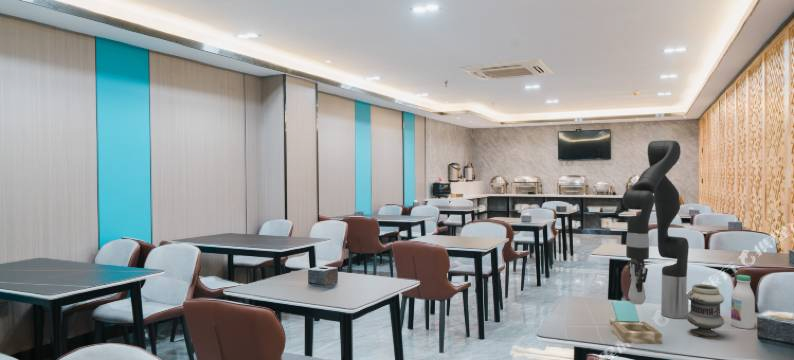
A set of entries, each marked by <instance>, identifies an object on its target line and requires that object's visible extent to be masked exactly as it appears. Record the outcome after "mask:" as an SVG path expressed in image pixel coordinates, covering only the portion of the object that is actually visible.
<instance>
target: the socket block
mask: <svg viewBox="0 0 794 360" xmlns="http://www.w3.org/2000/svg"><path fill="white" fill-rule="evenodd" d="M609 325H610V326H611V331H612V333H613V334H614V335H616V336H617V337H618V339H620V341H622V343H626V344H627V343H628V344H656V345H657V344H659V345H662V344H663V333H661V331H659V330H658V329H656V328H655V327H654V326H652V325H651V324H650V323H649V322H646V321H640V322H639V323H633V322H617V319H616V318H609Z"/></svg>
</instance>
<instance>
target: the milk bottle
mask: <svg viewBox="0 0 794 360" xmlns="http://www.w3.org/2000/svg"><path fill="white" fill-rule="evenodd" d="M751 279H752V278H751V276H750V275H745V274H738V275H736V286H735V287H734V289H733V291H732V293H731V301H730V303H731V304H730V305H731V306H730V324H731V326H733V327H735V328H739V329H747V330H749V329H750V330H751V329H754V328H755V321H756V319H755V317H756V313H755V312H756V300H755V299H756V298H755V294H754V291H753V289H752V288H751V284H750V283H751Z"/></svg>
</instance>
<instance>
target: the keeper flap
mask: <svg viewBox="0 0 794 360" xmlns="http://www.w3.org/2000/svg"><path fill="white" fill-rule="evenodd" d="M611 304H612V308H613V311H614V314H615V319H617V322H633V323H641V321H640V318H639V314H638V312H637V308H636V304H632V303H631V302H630V301H622V300H621V301H614V300H612V301H611Z"/></svg>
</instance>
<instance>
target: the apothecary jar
mask: <svg viewBox="0 0 794 360" xmlns="http://www.w3.org/2000/svg"><path fill="white" fill-rule="evenodd" d="M719 288H720V287H718V286H715V285H711V284H705V283H703V284H700V283H699V284H698V283H697V284H693V285H692V288H691V290H689V291H688V293H686V294H687V296H688V298H689V299H688V301H690V309H689V310H690V311H688V314H687V318H686V320H687V322H689V323H690V324H691V325H693V326H695V328H691V329H689V333H690V334H691V335H693V336H694V337H695V336H696V337H699V338H705V339H719V338H720V337H721V335H720V333H718V332H716V331H715V329H718V328H721V327H722V326H724V325H725V320H724V317H723V316H722V315H721V304H723V303H724V301H725V297H724V296H723V294H722V293H720V289H719Z"/></svg>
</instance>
